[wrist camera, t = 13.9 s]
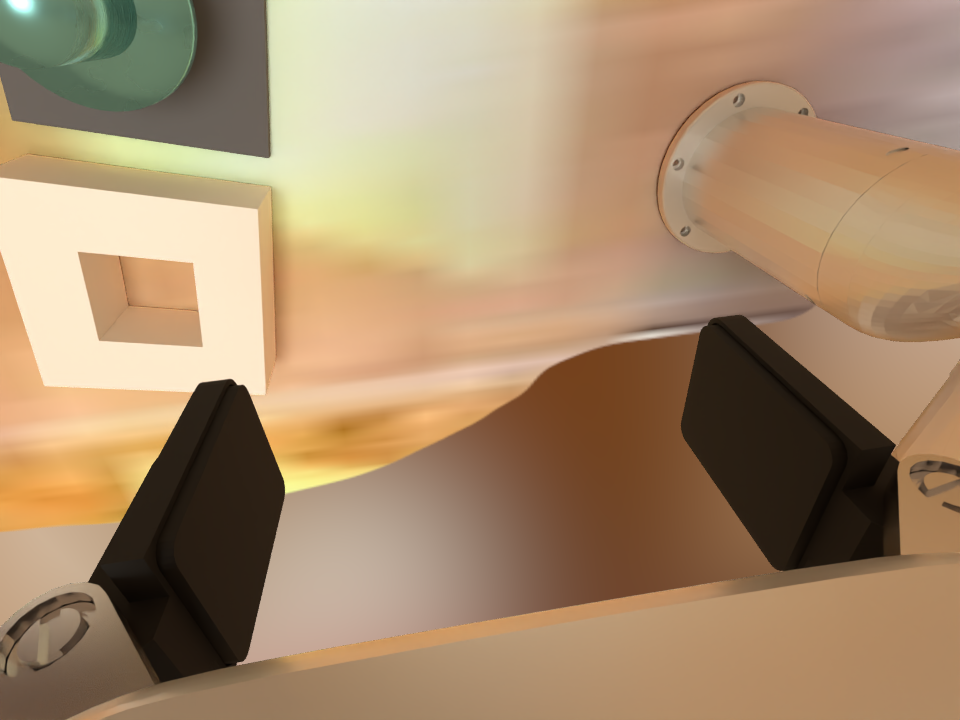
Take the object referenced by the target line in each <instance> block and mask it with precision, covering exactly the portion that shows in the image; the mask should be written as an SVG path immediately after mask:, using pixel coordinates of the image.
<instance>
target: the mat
mask: <svg viewBox="0 0 960 720" xmlns="http://www.w3.org/2000/svg"><path fill="white" fill-rule="evenodd" d="M192 1H193V4H194V8H195V14H196V20H197V37H198V38H197V48H196V54H195V58H194V62H193V64H192V67H191V69H190V72H189V74H188V75H187V77H186V79H185V80H184V82H183V83H182V84H181V85H180V87H179V88H178V89H177V90H176V91H175V92H173V93H172V94H171V95H170V96H168V97H167V98H165V99H163V100H161V101H160V102H158V103H155V104H153V105H150V106H147V107H145V108H142V109H138V110H132V111H120V112H114V111H103V110H98V109H93V108H88V107H85V106H82V105H79V104H76V103H74V102H71V101H69V100H67V99H65V98H62V97H60V96H58V95H57V94H55V93H53V92H51V91H49V90H48V89H46V88H45V87H43V86H42V85H40V84H39V83H37V82H36V81H34V80H33V79H32V78H30V77H29V76H28V75H27V74H26V73H24V72H23V71H22V70H21V69H19V68H17V67H13V66H10V65H7V64H4V63H2V62H0V77H1V81H2V84H3V88H4V92H5V95H6V99H7V103H8V106H9V110H10V114H11V117H12V120H13V121H20V122H27V123H34V124H40V125H47V126H54V127H61V128H67V129H74V130H81V131H88V132H95V133H101V134H108V135H115V136H122V137H129V138H135V139H142V140H149V141H156V142H163V143H169V144H176V145H183V146H190V147H197V148H203V149H210V150H217V151H224V152H230V153H237V154H244V155H251V156H258V157H264V158H269V157H270V129H269V94H268V60H267V25H266V0H192Z"/></svg>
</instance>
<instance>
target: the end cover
mask: <svg viewBox="0 0 960 720" xmlns="http://www.w3.org/2000/svg"><path fill="white" fill-rule="evenodd" d="M197 38H198V37H197V20H196V14H195V8H194V4H193V1H192V0H0V62H2V63H4V64H7V65H10V66H13V67H17V68H19V69H21V70H22V71H23V72H24V73H26V74H27V75H28V76H29V77H30V78H32V79H33V80H34V81H36V82H37V83H39V84H40V85H42V86H43V87H45V88H46V89H48V90H49V91H51V92H53V93H55V94H57V95H58V96H60V97H62V98H65V99H67V100H69V101H71V102H74V103H76V104H79V105H82V106H85V107H88V108H93V109H98V110H103V111H114V112H120V111H132V110H138V109H142V108H145V107H147V106H150V105H153V104H155V103H158V102H160V101H161V100H163V99H165V98H167V97H168V96H170V95H171V94H172V93H173V92H175V91H176V90H177V89H178V88H179V87H180V85H181V84H182V83H183V82H184V80H185V79H186V77H187V75H188V74H189V72H190V69H191V67H192V64H193V62H194V58H195V54H196V48H197Z"/></svg>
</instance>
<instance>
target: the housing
mask: <svg viewBox="0 0 960 720" xmlns="http://www.w3.org/2000/svg"><path fill="white" fill-rule="evenodd" d="M0 251H1V254H2V257H3V260H4V263H5V266H6V269H7V272H8V275H9V278H10V281H11V285H12V288H13V291H14V294H15V297H16V300H17V303H18V306H19V309H20V312H21V315H22V318H23V322H24V325H25V328H26V331H27V334H28V337H29V340H30V343H31V346H32V349H33V352H34V355H35V359H36V362H37V365H38V368H39V371H40V374H41V377H42V380H43V383H44V386H55V387H80V388H105V389H130V390H154V391H179V392H194V390H195V389H196V387H197V385H198V384H199V383H202V382H209V381H217V380H225V379H233V380H234V381H235V382H236V384H237V385H245V387H246V388H247V390H248V392H249V394H253V395H266V393H267V389H268V386H269V382H270V379H271V375H272V371H273V368H274V364H275V361H276V335H275V301H274V266H273V232H272V197H271V187H270V186H263V185H255V184H248V183H240V182H233V181H225V180H218V179H210V178H203V177H196V176H188V175H181V174H173V173H166V172H158V171H151V170H144V169H136V168H129V167H121V166H114V165H106V164H99V163H92V162H84V161H77V160H69V159H62V158H54V157H47V156H39V155H32V154H26V155H23V156H21V157H18V158H16V159H13V160H11V161H8V162H6V163H3V164H1V165H0ZM119 256H127V257H137V258H148V259H158V260H169V261H179V262H189V263H193V266H194V275H195V283H196V292H197V300H198V309H199V311H193V310H180V309H166V308H153V307H140V306H129V305H128V300H127V295H126V290H125V285H124V280H123V275H122V270H121V265H120V259H119Z"/></svg>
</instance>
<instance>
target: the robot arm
mask: <svg viewBox="0 0 960 720" xmlns="http://www.w3.org/2000/svg"><path fill="white" fill-rule="evenodd" d="M675 160H676V161H675ZM674 162H675V163H674ZM673 163H674V164H673ZM657 197H658V204H659V211H660V214H661V216H662V219H663V222H664V224H665V225H666V227H667V228H668V230H669V231H670V233H671V234H672V235H673V236H675V237H676V238H677V239H678V240H679V241H680V242H682V243H683V244H685V245H686V246H688V247H689V248H692V249H695V250H697V251H700V252H707V253H723V252H729V251H734V252H735V253H737V254H739V255H740V256H742V257H743V258H745V259H746V260H748V261H749V262H751V263H752V264H754V265H755V266H757V267H758V268H760V269H762V270H763V271H765V272H766V273H768V274H769V275H771V276H772V277H774V278H775V279H777V280H778V281H780V282H781V283H783V284H784V285H786V286H788V287H789V288H791V289H792V290H794V291H795V292H797V293H798V294H800V295H801V296H803V297H804V298H806V299H807V300H809V301H811V302H812V303H814V304H815V305H817V306H818V307H820V308H822V309H823V310H825V311H826V312H828V313H830V314H831V315H833V316H834V317H836V318H837V319H839V320H840V321H842V322H843V323H845V324H846V325H848V326H850V327H852V328H854V329H855V330H857V331H859V332H861V333H864V334H867V335H869V336H872V337H876V338H881V339H885V340H890V341H899V342H925V341H938V340H948V339H954V338H960V151H959V150H955V149H950V148H946V147H942V146H937V145H933V144H928V143H924V142H920V141H915V140H911V139H906V138H902V137H898V136H893V135H889V134H884V133H880V132H876V131H871V130H867V129H863V128H858V127H854V126H849V125H845V124H841V123H836V122H832V121H827V120H823V119H819V118H817V117H816V115H815V112H814V109H813V107H812V106H811V104H810V103H809V102H808V100H807V99H806V98H805V96H803V95H802V94H801V93H799V92H798V91H797V90H796V89H794V88H792V87H789V86H787V85H784V84H781V83H776V82H769V81H751V82H747V83H743V84H739V85H735V86H733V87H731V88H729V89H726V90H724V91H722V92H720V93H718V94H717V95H715V96H714V97H712V98H711V99H710V100H708V101H707V102H705V103H704V104H703V105H702V106H701V107H700V108H698V109H697V110H696V111H695V112H694V113H693V114H692V115H691V116H690V117H689V118H688V120H687V121H686V122H685V123H684V125H683V126H682V127H681V128H680V130H679V131H678V133H677V134H676V136H675V138H674V139H673V141H672V143H671V145H670V146H669V148H668V151H667V153H666V156H665V158H664V161H663V163H662V167H661V171H660V175H659V180H658V195H657ZM681 430H682V434H683V437H684V439H685V441H686V442H687V444H688V445H689V446H690V448H691V449H692V451H693V452H694V454H695V455H696V457H697V458H698V459H699V461H700V462H701V464H702V465H703V467H704V468H705V470H706V471H707V473H708V474H709V475H710V477H711V478H712V480H713V481H714V483H715V484H716V485H717V487H718V488H719V490H720V491H721V493H722V494H723V496H724V497H725V499H726V500H727V501H728V503H729V504H730V506H731V507H732V509H733V510H734V511H735V513H736V515H737V516H738V517H739V519H740V520H741V522H742V523H743V525H744V526H745V527H746V529H747V530H748V532H749V533H750V535H751V536H752V538H753V539H754V541H755V542H756V544H757V545H758V546H759V548H760V549H761V551H762V552H763V554H764V555H765V557H766V558H767V559H768V561H769V562H770V564H771V565H772V566H773V567H774V568H775V569H777V570H780V571H783V572H777V573H770V574H764V575H758V576H752V577H746V578H740V579H734V580H727V581H721V582H715V583H709V584H703V585H697V586H691V587H685V588H678V589H673V590H666V591H660V592H654V593H648V594H642V595H636V596H630V597H624V598H618V599H612V600H606V601H601V602H594V603H588V604H582V605H576V606H571V607H565V608H559V609H553V610H547V611H541V612H536V613H530V614H524V615H518V616H512V617H506V618H500V619H494V620H489V621H483V622H476V623H470V624H465V625H459V626H453V627H447V628H442V629H436V630H430V631H425V632H419V633H413V634H407V635H402V636H396V637H390V638H384V639H379V640H373V641H367V642H362V643H356V644H350V645H345V646H339V647H333V648H327V649H321V650H317V651H311V652H306V653H300V654H295V655H290V656H285V657H279V658H275V659H269V660H264V661H259V662H253V663H248V664H243V665H238V666H236V665H237V662H242V661H244V660H245V659H246V657H247V654H248V651H249V647H250V643H251V639H252V634H253V630H254V626H255V622H256V617H257V613H258V609H259V604H260V600H261V596H262V592H263V587H264V583H265V579H266V574H267V570H268V566H269V561H270V557H271V552H272V549H273V544H274V540H275V535H276V531H277V527H278V523H279V519H280V514H281V510H282V506H283V502H284V496H285V485H284V480H283V477H282V475H281V472H280V470H279V467H278V465H277V462H276V460H275V457H274V455H273V452H272V450H271V447H270V445H269V442H268V440H267V437H266V435H265V432H264V430H263V427H262V424H261V422H260V419H259V417H258V414H257V412H256V409H255V407H254V404H253V402H252V399H251V397H250V394H249V392H248V390H247V388H246V387H245V385H237V384H236V382H235V381H234V380H233V379H225V380H217V381H209V382H202V383H199V384H198V385H197V387H196V389H195V390H194V392H193V394H192V396H191V398H190V400H189V401H188V403H187V405H186V407H185V409H184V411H183V413H182V414H181V416H180V418H179V420H178V422H177V424H176V425H175V427H174V429H173V431H172V433H171V435H170V436H169V438H168V440H167V442H166V444H165V446H164V447H163V449H162V451H161V453H160V455H159V457H158V458H157V459H156V461H155V462H154V463H153V465H152V466H151V468H150V470H149V472H148V474H147V475H146V477H145V479H144V481H143V483H142V485H141V486H140V488H139V490H138V492H137V494H136V496H135V497H134V499H133V501H132V503H131V505H130V506H129V508H128V510H127V512H126V514H125V516H124V517H123V519H122V521H121V523H120V525H119V527H118V528H117V530H116V532H115V534H114V536H113V538H112V539H111V541H110V543H109V545H108V547H107V549H106V550H105V552H104V554H103V556H102V558H101V560H100V561H99V563H98V565H97V567H96V569H95V570H94V572H93V574H92V576H91V578H90V580H89V581H88V582H82V583H71V584H68V585H64V586H61V587H58V588H55V589H52V590H50V591H48V592H47V593H45V594H43V595H41V596H39V597H37V598H35V599H33V600H32V601H31V602H29V603H28V604H26V605H25V606H24V607H22V608H21V609H20V610H18V611H17V612H16V613H14V614H13V616H12V617H10V618H9V619H8V620H7V621H6V622H5V623H4V624H3V625H2V626H1V627H0V720H960V360H959V361H958V363H957V364H956V366H955V367H954V369H953V370H952V371H951V373H950V376H949V378H948V379H947V380H946V382H945V383H944V385H943V386H942V387H941V388H940V390H939V391H938V392H937V394H936V395H935V397H934V398H933V399H932V400H931V402H930V403H929V404H928V406H927V407H926V408H925V409H924V411H923V412H922V413H921V415H920V416H919V417H918V419H917V420H916V421H915V423H914V424H913V425H912V427H911V428H910V429H909V430H908V432H907V433H906V435H905V436H904V437H903V438H902V440H901V441H900V443H899V444H898V446H897V447H896V449H895V450H894V451H893V449H894V448H895V446H896V445H895V444H894V443H893V442H892V441H891V440H889V439H888V438H887V437H886V436H885V435H884V434H882V433H881V432H880V431H879V430H878V429H876V428H875V427H874V426H873V425H872V424H871V423H869V422H868V421H867V420H866V419H865V418H864V417H862V416H861V415H860V414H859V413H858V412H856V411H855V410H854V409H853V408H852V407H851V406H849V405H848V404H847V403H846V402H845V401H844V400H842V399H841V398H840V397H839V396H838V395H836V394H835V393H834V392H833V391H832V390H831V389H829V388H828V387H827V386H826V385H825V384H823V383H822V382H821V381H820V380H819V379H817V378H816V377H815V376H814V375H813V374H812V373H811V372H809V371H808V370H807V369H806V368H804V367H803V366H802V365H801V364H800V363H799V362H798V361H796V360H795V359H794V358H793V357H792V356H791V355H789V354H788V353H787V352H786V351H784V350H783V349H782V348H781V347H780V346H778V345H777V344H776V343H775V342H774V341H773V340H772V339H770V338H769V337H768V336H767V335H766V334H764V333H763V332H762V331H761V330H760V329H759V328H757V327H756V326H755V325H754V324H753V323H752V322H750V321H749V320H748V319H747V318H746V317H744V316H742V315H735V316H727V317H719V318H713V319H711V320H710V322H709V323H708V326H705V327H703V328H702V330H701V332H700V336H699V341H698V346H697V351H696V355H695V360H694V365H693V369H692V374H691V379H690V384H689V388H688V393H687V398H686V402H685V407H684V412H683V416H682V421H681ZM892 452H893V453H892ZM891 453H892V454H891Z"/></svg>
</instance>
